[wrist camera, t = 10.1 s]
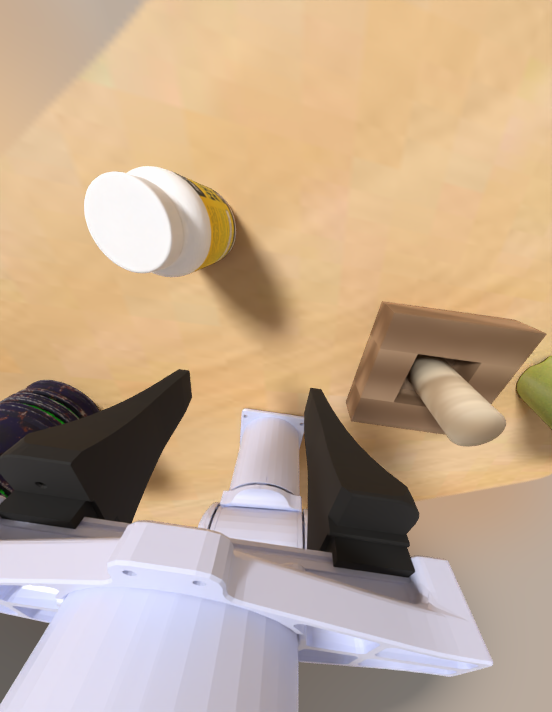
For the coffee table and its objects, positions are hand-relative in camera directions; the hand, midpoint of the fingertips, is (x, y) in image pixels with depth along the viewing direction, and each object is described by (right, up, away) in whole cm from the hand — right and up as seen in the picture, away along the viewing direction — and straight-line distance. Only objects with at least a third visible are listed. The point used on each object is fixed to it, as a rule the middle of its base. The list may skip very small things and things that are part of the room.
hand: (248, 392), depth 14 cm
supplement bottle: (-4, +13, +5) cm, 15 cm away
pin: (+16, +1, +9) cm, 19 cm away
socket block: (+16, +1, +10) cm, 19 cm away
